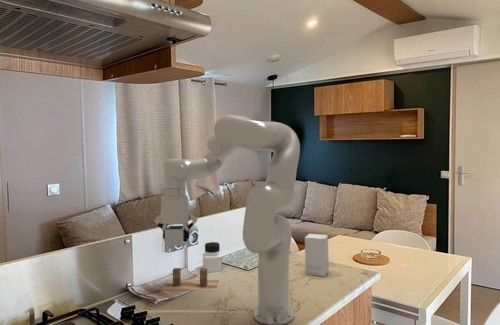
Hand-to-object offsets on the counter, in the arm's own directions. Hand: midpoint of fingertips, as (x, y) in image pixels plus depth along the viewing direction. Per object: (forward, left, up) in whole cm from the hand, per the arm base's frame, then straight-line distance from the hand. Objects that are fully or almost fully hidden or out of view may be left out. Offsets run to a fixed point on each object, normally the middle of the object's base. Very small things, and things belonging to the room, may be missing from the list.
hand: (176, 240), depth 140 cm
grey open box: (0, 0, -1) cm, 1 cm away
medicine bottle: (+18, -11, -18) cm, 28 cm away
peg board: (0, -5, -18) cm, 19 cm away
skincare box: (+16, -54, -18) cm, 59 cm away
